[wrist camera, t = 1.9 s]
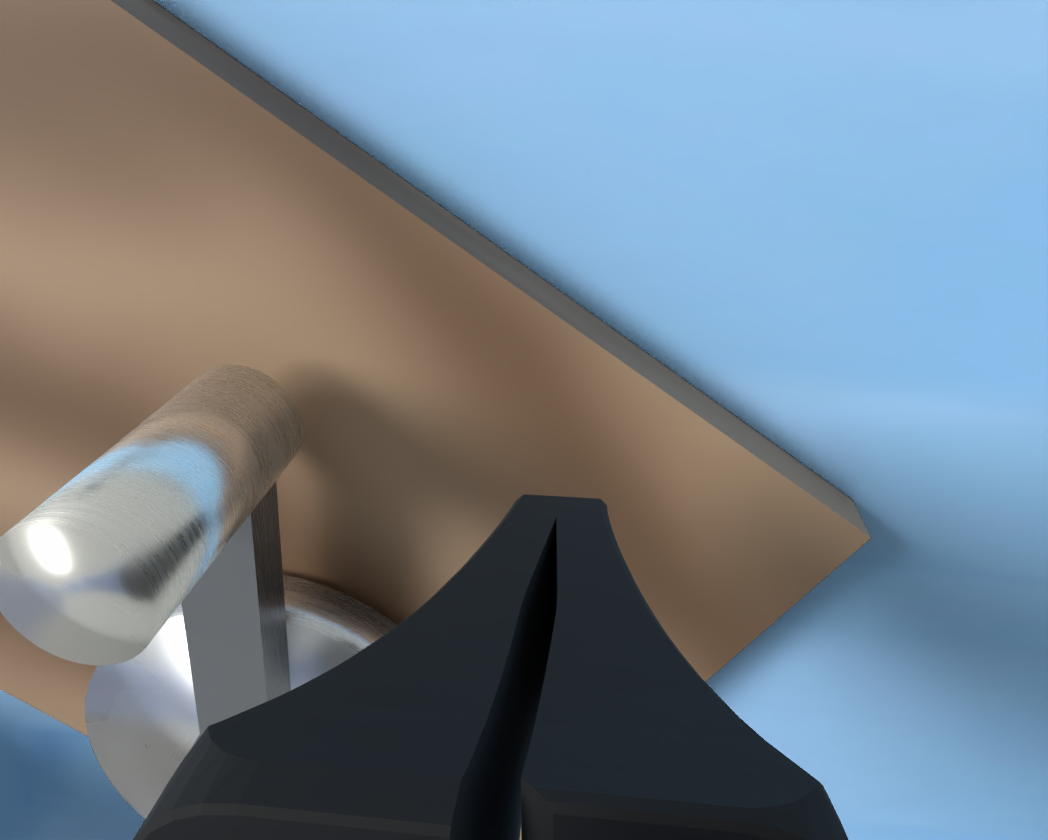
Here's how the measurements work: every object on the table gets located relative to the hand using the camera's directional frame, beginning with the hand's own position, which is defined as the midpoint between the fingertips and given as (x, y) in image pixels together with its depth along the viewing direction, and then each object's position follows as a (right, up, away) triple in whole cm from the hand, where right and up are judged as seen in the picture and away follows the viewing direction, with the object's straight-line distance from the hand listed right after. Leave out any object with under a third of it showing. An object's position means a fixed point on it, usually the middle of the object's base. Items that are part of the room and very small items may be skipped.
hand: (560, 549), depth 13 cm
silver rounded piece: (-6, -3, +7) cm, 10 cm away
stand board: (-6, -1, +8) cm, 10 cm away
